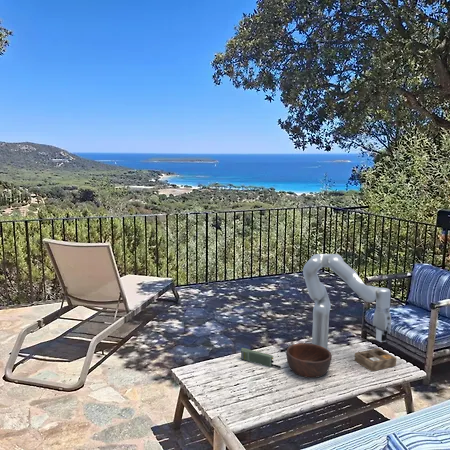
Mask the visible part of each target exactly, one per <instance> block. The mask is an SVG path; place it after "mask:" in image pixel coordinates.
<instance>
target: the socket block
mask: <svg viewBox="0 0 450 450" xmlns="http://www.w3.org/2000/svg"><path fill="white" fill-rule="evenodd" d="M354 362H356V363H357V364H359V365H361V366H362V367H364V368H365V369H367V370H368V371H370V372H375V371H380V370H383V369H388V368H389V369H390V368H393V367H396V366H397V357H395V356H394V355H392V354H391V353H388V352H387V351H385V350H383V349H381V348H380V347H378V348H372V349H368V350H363V351H358V352H355V353H354Z"/></svg>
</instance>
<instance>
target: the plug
mask: <svg viewBox="0 0 450 450" xmlns="http://www.w3.org/2000/svg"><path fill="white" fill-rule="evenodd" d="M382 334H383V333H382V329H381V328H378V327H376V331H375V340H376V341H377V342H380V343H384V342H386V341H381V340H382Z"/></svg>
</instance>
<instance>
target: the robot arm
mask: <svg viewBox="0 0 450 450" xmlns="http://www.w3.org/2000/svg"><path fill="white" fill-rule="evenodd" d="M322 268H329V269H330V270H331V271H332V272H333V273H335V274H336V275H337V276H338V277H339V278H340V279H342V280H343V281H344V283H346V284H347V285H348V287H349V288H350V289H351V290H352V291H353V292H354V293H355V294H356V295H357V296H358V297H360V298H361V299H362V300H363V301H365V302H366V303H374V302H375V310H374V312H373V313H374V314H373V322H372V326H373V328H374V331H375V332H376V327H378V328H381V329H382V333H383V334H382V340H381V341H385V342H387V335H388V334H390V333H392V316H391V315H392V314H391V310H390V308H391V290H390V289H389V288H387V287H378V286H373V285H366V283H364V282H363V280H362V279H361V278H360V276H359V275H358V273H357V272H356V271H355V270H354V269H353V268H352V267H351V266H350V265H349V264H347V262H345V261H344V259H343V256H341V255H340V254H338V253H316V254H313V255H312V256H311V257H310V259H308V260H307V262H305V264H304V266H303V268H302V274H303V279H304V282H305V285H306V289H307V291H308V295H309V298H310V299H311V300H312V301H313V302H314V305H313V310H312V331H311V332H312V334H311V344H315V345H319V346H322V347H324V348H326V349H327V350H329V351H330V352H331V350H330V349H329V348H328V346H329V331H330V329H329V326H330V325H329V322H330V311H331V308H332V306H331V300H330V298H329V294H328V292H327V288H326V286H325V285H324V283H322V282H321V281H320V278H319V274H318V272H319V270H321V269H322Z"/></svg>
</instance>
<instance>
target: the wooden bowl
mask: <svg viewBox="0 0 450 450" xmlns="http://www.w3.org/2000/svg"><path fill="white" fill-rule="evenodd" d="M329 350H330V349H329ZM329 350H327V349H326V348H324V347H322V346H319V345H315V344H312V343H309V342H308V343H307V342H305V343H304V342H301V343H294V344H291V345H289V346H288V347H287V348H286V351H285V352H286V353H285V354H286V355H285V356H286V361H287V362H286V363H287V364H288V367H289V369H290V370H291V371H292V372H293V373H294V374H295V375H297V376H301V377H304V378H312V379H313V378H320V377H322V376H324V375H325V374H327V372H328V371H329V369H330V367H331V363H332V358H333V356H332V353H331V350H330V351H329Z"/></svg>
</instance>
